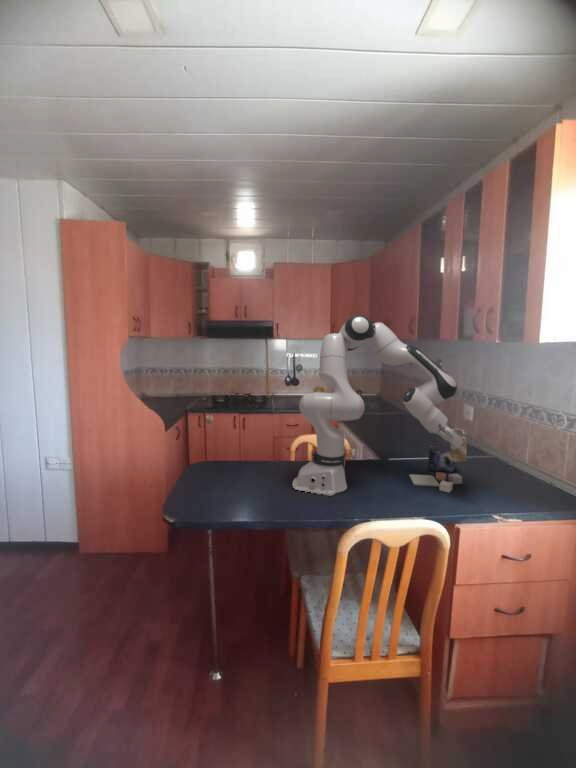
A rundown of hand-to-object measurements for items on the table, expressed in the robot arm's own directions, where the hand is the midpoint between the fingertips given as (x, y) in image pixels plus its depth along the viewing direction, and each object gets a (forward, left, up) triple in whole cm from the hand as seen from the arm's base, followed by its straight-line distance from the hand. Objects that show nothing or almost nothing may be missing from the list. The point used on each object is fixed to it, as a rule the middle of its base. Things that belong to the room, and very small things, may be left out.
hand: (459, 447), depth 145 cm
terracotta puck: (-3, +11, -18) cm, 21 cm away
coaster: (-11, +9, -18) cm, 23 cm away
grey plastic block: (+2, +10, -18) cm, 21 cm away
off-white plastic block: (-4, +1, -18) cm, 19 cm away
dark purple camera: (0, +24, -18) cm, 30 cm away
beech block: (0, 0, -5) cm, 5 cm away
